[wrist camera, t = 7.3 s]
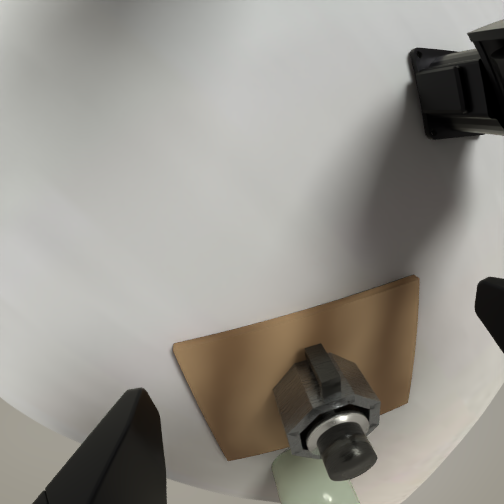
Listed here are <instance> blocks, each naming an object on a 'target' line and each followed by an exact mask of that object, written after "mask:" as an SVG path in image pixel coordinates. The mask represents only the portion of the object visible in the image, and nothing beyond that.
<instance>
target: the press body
mask: <svg viewBox="0 0 504 504" xmlns="http://www.w3.org/2000/svg"><path fill="white" fill-rule="evenodd" d="M304 349H305V356H306V360H304V361H301V362H298V363H294V364H293V366H292V367H291V368H290V369H289V370H288V372H287V373H286V374H285V375H284V376H283V378H282V379H281V380H280V381H279V382H278V383H277V385H276V386H275V387H274V388H273V392H274V396H275V400H276V404H277V407H278V411H279V415H280V418H281V421H282V424H283V427H284V431H285V434H286V437H287V440H288V444H289V447H290V450H291V453H292V455H296V456H301V457H307V458H314V459H322V458H321V456H318V455H315V454H313V453H311V452H310V451H309V450H308V447H307V444H306V436H307V434H308V432H309V431H310V430H311V428H312V427H313V426H314V425H316V424H317V423H318V422H319V421H321V420H323V419H324V418H323V416H322V414H321V413H324V412H327V411H330V410H334V412H335V413H338V412H342V411H347V410H356V411H360V412H362V413H363V414H364V415H365V416H366V418H367V420H368V422H369V429H368V431H367V433H366V436H367V435H368V434H370V433H371V432H372V431H373V430H374V429H375V428H376V427H377V426H378V425H379V416H380V405H381V402H380V400H379V398H378V397H377V395H376V394H375V392H374V391H373V389H372V388H371V386H370V385H369V383H368V382H367V380H366V379H365V377H364V376H363V374H362V373H361V371H360V370H359V368H358V366H357V365H356V363H354V362H352V361H349V360H347V359H345V358H342V357H340V356H338V355H335V354H333V353H331V352H330V353H327V352H326V350H325V349H324V347H323V345H322V344H321V343H320V344H317V345H313V346H310V347H307V348H304Z"/></svg>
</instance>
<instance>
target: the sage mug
mask: <svg viewBox="0 0 504 504" xmlns="http://www.w3.org/2000/svg"><path fill="white" fill-rule="evenodd" d="M272 471H273V475H274V479H275V483H276V487H277V491H278V495H279V498H280V502H281V504H360V502H359V500H358V497H357V495H356V493H355V491H354V488H353V486H352V484H351V482H350V479H349V480H345V481H333V480H331V479H330V478H329V476H328V473H327V471H326V468H325V466H324V463H323V460H322V459H314V458H307V457H301V456H296V455H292V453H291V450H290V449H289V450H287V451H285V452H284V453H282V454H281V455H279V456H278V457H277V458H276V459H275V460H274V462H273V464H272Z"/></svg>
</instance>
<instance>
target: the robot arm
mask: <svg viewBox="0 0 504 504" xmlns="http://www.w3.org/2000/svg"><path fill="white" fill-rule="evenodd" d="M467 34H468V36H469V38H470V40H471V42H473V43H474V45H475V47H476V49H472V50H467V51H462V52H455V51H447V50H438V49H427V48H415V49H412V50H411V58H412V63H413V67H414V71H415V76H416V81H417V86H418V91H419V96H420V102H421V107H422V113H423V120H424V126H425V133H426V136H427V137H428V138H429V139H434V140H436V139H445V138H454V137H464V136H475V135H484V134H494V135H502V136H504V19H503V20H500V21H497V22H494V23H492V24H489V25H486V26H484V27H481V28H479V29H476V30H474V31H471V32H469V33H467ZM417 53H418V55H419V57H418V56H417ZM432 130H433V135H432V133H431V132H432ZM475 312H476V314H477V316H478V317H479V319H480V320H481V321H482V323H483V324H484V326H485V327H486V328H487V330H488V331H489V333H490V334H491V336H492V337H493V339H494V340H495V342H496V343H497V345H498V346H499V347H500V349H501V350H502V352H503V353H504V279H502V278H495V277H487V278H485V279H483V280H481V281H480V282H479V283H478V285H477V292H476V300H475ZM45 490H46V491H43V492H42V493H41V494H40V495H39V496H38V498H37V499H36V500H35V501H34V502H33V504H167V499H166V498H167V496H166V467H165V459H164V450H163V442H162V432H161V422H160V415H159V412H158V410H157V408H156V407H155V405H154V403H153V402H152V400H151V398H150V396H149V395H148V393H147V391H146V390H145V389H144V388H135V389H129V390H127V391H126V392H125V393H124V394H123V395H122V396H121V398H120V399H119V400H118V401H117V402H116V404H115V405H114V406H113V407H112V408H111V410H110V411H109V412H108V413H107V414H106V416H105V417H104V418H103V419H102V420H101V422H100V423H99V424H98V425H97V426H96V428H95V429H94V430H93V431H92V432H91V434H90V435H89V436H88V437H87V438H86V440H85V441H84V442H83V443H82V444H81V446H80V447H79V448H78V449H77V451H76V452H75V453H74V454H73V456H72V457H71V458H70V459H69V460H68V461H67V463H66V464H65V465H64V466H63V467H62V469H61V470H60V471H59V472H58V473H57V475H56V476H55V477H54V478H53V480H52V481H51V482H50V483H49V484H48V486H47V487H46V488H45Z"/></svg>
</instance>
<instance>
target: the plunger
mask: <svg viewBox="0 0 504 504" xmlns="http://www.w3.org/2000/svg"><path fill="white" fill-rule="evenodd" d="M321 414H322V416H323V418H324V419H323V420H321V421H319V422H318V423H317V424H316V425H314V426H313V427H312V428H311V430H310V431H309V432H308V434H307V436H306V444H307V447H308V450H309V451H310V452H311V453H313V454H315V455H318V456H321V458H322V460H323V463H324V466H325V468H326V471H327V473H328V476H329V478H330V479H331V480H333V481H345V480H349V479H352V478H355V477H357V476H359V475H361V474H363V473H364V472H366V471H367V470H369V469H370V468H371V467H372V466H373V465H374V464H375V462H376V460H377V455H376V454H375V452H374V450H373V448H372V446H371V444H370V442H369V441H368V439H367V437H366V433H367V431H368V429H369V422H368V420H367V418H366V416H365V415H364V414H363V413H362V412H360V411H356V410H347V411H342V412H338V413H335V412H334V410H330V411H327V412H324V413H321Z"/></svg>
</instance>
